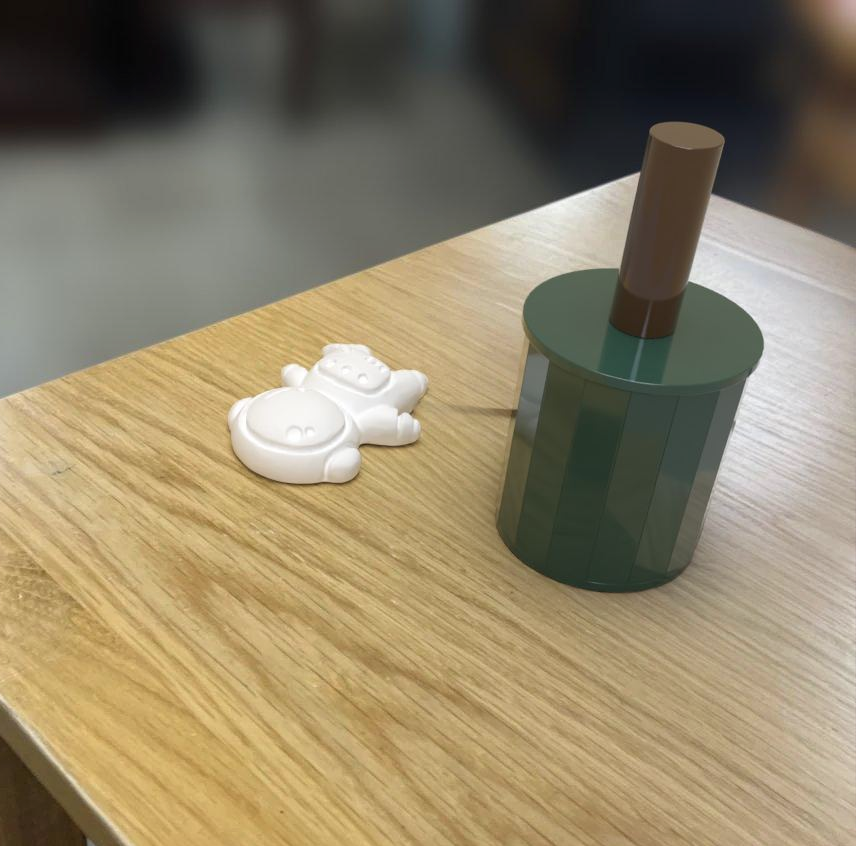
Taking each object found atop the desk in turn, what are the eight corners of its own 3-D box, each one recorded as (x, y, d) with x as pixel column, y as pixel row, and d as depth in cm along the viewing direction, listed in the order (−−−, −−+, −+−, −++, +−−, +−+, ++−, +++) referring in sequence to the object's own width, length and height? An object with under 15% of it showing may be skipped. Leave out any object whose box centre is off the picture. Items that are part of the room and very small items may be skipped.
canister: (679, 478, 62) (732, 290, 55) (710, 601, 55) (776, 401, 48) (492, 462, 62) (524, 273, 56) (498, 583, 55) (535, 382, 48)
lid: (733, 299, 56) (791, 99, 50) (780, 419, 48) (854, 198, 42) (514, 281, 56) (546, 80, 50) (524, 398, 48) (564, 176, 43)
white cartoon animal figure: (465, 416, 65) (472, 367, 63) (306, 508, 58) (309, 456, 57) (347, 353, 70) (350, 305, 68) (186, 431, 63) (185, 380, 61)
